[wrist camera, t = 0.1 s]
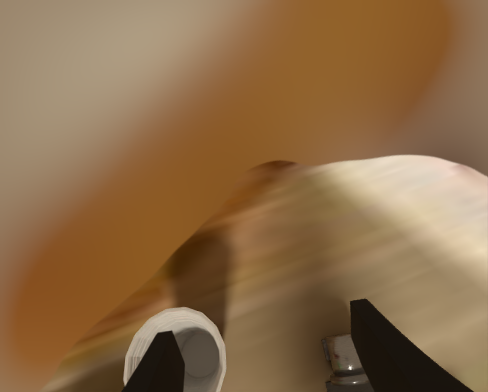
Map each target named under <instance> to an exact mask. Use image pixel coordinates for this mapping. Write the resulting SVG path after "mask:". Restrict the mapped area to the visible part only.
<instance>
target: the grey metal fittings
mask: <svg viewBox="0 0 488 392" xmlns="http://www.w3.org/2000/svg"><path fill="white" fill-rule="evenodd" d="M322 343H323V348H324V352H325V356H326V360H331V363H332V367H333V371H334V373H333V374H331V375H330V380H331V382H326V388H327V392H374V390H373V388H372V386H371V384H370V382H369V380H368V377H367V375H366V373H365V371H364V369H363V367H362V365H361V363H360V360H359V357H358V355H357V352H356V349H355V346H354V344H353V341H352V338H351V333H349V334H341V335H335V336H330V337H326V339H324V340H322Z"/></svg>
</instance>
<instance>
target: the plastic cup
mask: <svg viewBox="0 0 488 392" xmlns="http://www.w3.org/2000/svg"><path fill="white" fill-rule="evenodd" d="M171 330H172V331H173V334H174V336H175V339H176V341H177V344H178V347H179V349H180V352H181V354H182V357H183V360H184V362H185V376H184V390H183V392H220V390H221V386H222V383H223V379H224V376H225V372H226V353H225V345H224V342H223V340H222V338H221V335H220V333H219V331H218V328H217V326H216V325H215V324H214V323H213V322H212V321H211V320H210V319H209V318H208V317H206V316H205V315H204V314H203V313H202V312H199V311H196V310H193V309H190V308H187V307H180V308H171V309H166V310H164V311H162V312H160V313H159V314H157V315H155V316H153V317H151V318H149V319H148V321H147V322H146V323H145V324H144V325H143V326H142V327H141V328H140V330H139V331H138V332H137V333H136V334H135V336H134V338H133V340H132V343H131V345H130V347H129V350H128V352H127V354H126V358H125V368H124V379H123V380H124V384H125V385H126V384H127V382H128V380H129V379H130V377H131V376H132V374H133V372H134V371H135V369H136V368H137V366H138V364H139V363H140V361H141V359H142V358H143V356H144V354H145V352H146V351H147V349H148V347H149V346H150V344H151V342H152V340H153V339H154V337H155V335H156V334H157V333H158V332H165V331H171Z"/></svg>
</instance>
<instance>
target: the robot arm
mask: <svg viewBox="0 0 488 392" xmlns="http://www.w3.org/2000/svg"><path fill="white" fill-rule="evenodd" d="M350 312H351V338H352V341H353V344H354V346H355V349H356V352H357V355H358V357H359V360H360V363H361V365H362V367H363V369H364V371H365V373H366V375H367V377H368V380H369V382H370V384H371V386H372V388H373V390H374V392H474V391H472V390H471V389H469V388H468V387H467V386H465V385H464V384H463V383H461V382H460V381H459V380H457V379H456V378H455V377H453V376H452V375H451V374H449V373H448V372H447V371H446V370H444V369H443V368H442V367H440V366H439V365H438V364H437V363H436V362H434V361H433V360H432V359H431V358H430V357H428V356H427V355H426V354H425V353H424V352H422V351H421V350H420V349H419V348H418V347H417V346H415V345H414V344H413V343H412V342H411V341H410V340H409V339H408V338H407V337H405V336H404V335H403V334H402V333H401V332H400V331H399V330H398V329H397V328H396V327H395V326H394V325H392V324H391V323H390V322H389V321H388V320H387V319H386V318H385V317H384V316H383V315H382V314H381V313H380V312H379V311H378V310H377V309H376V308H375V307H374V306H373V305H372V304H371V303H370V302H369V301H368V300H367V299H360V300H354V301H350ZM184 376H185V362H184V360H183V357H182V354H181V352H180V349H179V347H178V344H177V341H176V339H175V336H174V334H173V331H172V330H171V331H165V332H158V333H157V334H156V335H155V337H154V339H153V340H152V342H151V344H150V346H149V347H148V349H147V351H146V352H145V354H144V356H143V358H142V359H141V361H140V363H139V364H138V366H137V368H136V369H135V371H134V372H133V374H132V376H131V377H130V379H129V380H128V382H127V384H126V385H125V387H124V388H123V390H122V392H183V390H184Z"/></svg>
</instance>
